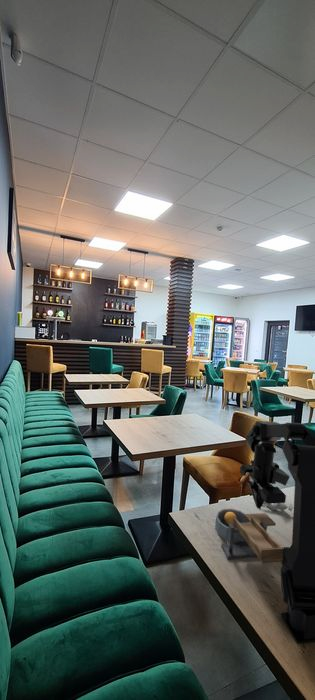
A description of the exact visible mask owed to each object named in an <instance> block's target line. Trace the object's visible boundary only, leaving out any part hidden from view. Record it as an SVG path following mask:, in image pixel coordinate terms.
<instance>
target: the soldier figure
mask: <svg viewBox="0 0 315 700" xmlns="http://www.w3.org/2000/svg"><path fill="white" fill-rule="evenodd" d="M263 505H266V506H267V507H268V508H269V509H270V510H272V511H277V510H280V511H282V510H283V511H285V510H288V511H290V512H292V510H293V509H294V506H293V505H292V503H291V502H289V503H288V504H286V503H270V504H269V503H266V502H265V501H264V503H263ZM263 505H262V506H263Z"/></svg>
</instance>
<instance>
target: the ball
mask: <svg viewBox="0 0 315 700" xmlns="http://www.w3.org/2000/svg"><path fill="white" fill-rule="evenodd" d="M234 518H236V519H237V517H236V515H235V514H234V513H233V512H227V513H226V514H225V516H224V519H225V522H226V523H227V524H228V525H229V523H232V524H233V525H234V523H233V519H234Z"/></svg>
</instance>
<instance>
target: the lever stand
mask: <svg viewBox="0 0 315 700" xmlns="http://www.w3.org/2000/svg"><path fill="white" fill-rule="evenodd" d="M260 525H261V526H262V527H263V529H264V530H265V531H266V532H268V531H267V530H268V526H266V524H265V523H264V522H260ZM234 530H235V528H234V526H233V524H232V523H229V526H228V536H227V540H226V542H222V543H221V544H220V545H221V546H220V547H221V549H222V551H223V553H224V556H225V557H226V559H227V560H238V559H252V558H258V556H257V555H256V554H255V552H254V551H253V550H252V548H251V547H250V546H249V545H248V543H247V542H237V543H233V541H234Z"/></svg>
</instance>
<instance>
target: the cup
mask: <svg viewBox="0 0 315 700" xmlns="http://www.w3.org/2000/svg"><path fill="white" fill-rule="evenodd" d="M227 512H233V513H234V514H235V515H236V517H237V520H238V521H239V523H248V520H247V519H246V518H245V517H244V514H246V513H245V512H243V511H241V510H237V509H235V508H222V509H220V510H219V511H217V513H216V516H215V527H214V529H215V531H216V534H217V535H218V536H219V537H220V538H222V539H223V540H224V541H227V536H228V526H229V525H228V524H227V523H226V522H225V519H224V516H225V514H226V513H227ZM233 526H234V525H233ZM234 528H235V526H234ZM235 529H236V528H235ZM237 542H246V541H245V539H244V538H243V537H242V535H241V534H240V533H239V532H236V533H235V532H234V541H233V543H237Z"/></svg>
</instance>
